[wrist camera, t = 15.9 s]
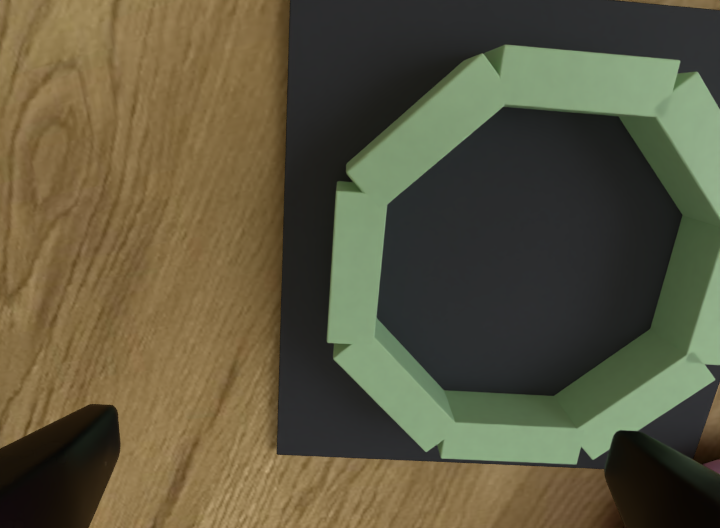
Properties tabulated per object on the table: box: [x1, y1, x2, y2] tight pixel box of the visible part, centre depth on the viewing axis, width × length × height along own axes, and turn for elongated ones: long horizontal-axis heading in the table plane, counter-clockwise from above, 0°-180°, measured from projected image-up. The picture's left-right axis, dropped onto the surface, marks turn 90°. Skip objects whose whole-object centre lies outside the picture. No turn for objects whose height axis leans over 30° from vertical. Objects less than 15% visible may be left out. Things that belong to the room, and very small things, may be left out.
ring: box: [327, 45, 720, 464], centre depth 19 cm, size 16×16×2 cm
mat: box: [277, 0, 720, 469], centre depth 20 cm, size 20×20×1 cm
